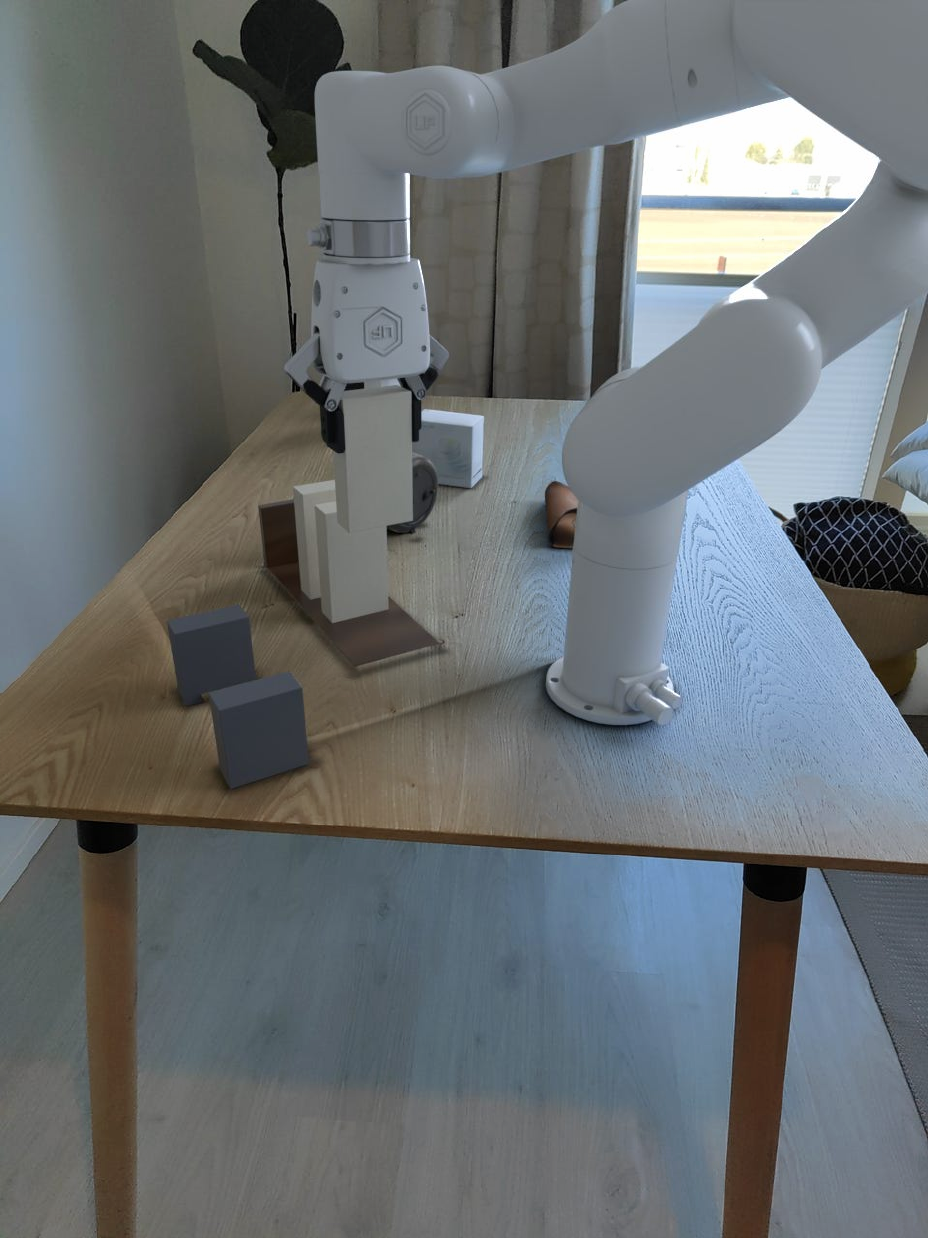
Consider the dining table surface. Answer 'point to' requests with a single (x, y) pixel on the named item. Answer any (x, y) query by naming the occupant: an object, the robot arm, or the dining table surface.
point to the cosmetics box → (452, 446)
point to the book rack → (352, 636)
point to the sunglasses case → (560, 515)
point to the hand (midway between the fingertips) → (372, 442)
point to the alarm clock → (420, 493)
